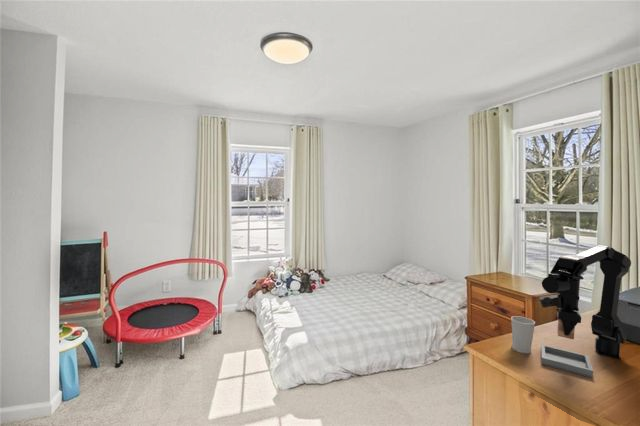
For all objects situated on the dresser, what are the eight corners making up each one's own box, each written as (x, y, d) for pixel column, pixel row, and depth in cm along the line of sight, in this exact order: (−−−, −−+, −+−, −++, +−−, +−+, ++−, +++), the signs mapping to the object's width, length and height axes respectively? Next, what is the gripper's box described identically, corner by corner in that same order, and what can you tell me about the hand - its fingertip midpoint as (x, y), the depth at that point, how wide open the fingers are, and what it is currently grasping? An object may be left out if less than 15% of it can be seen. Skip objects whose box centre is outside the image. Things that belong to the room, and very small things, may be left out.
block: (572, 335, 113) (573, 322, 112) (573, 339, 109) (574, 325, 109) (557, 331, 115) (558, 318, 115) (557, 335, 112) (558, 322, 111)
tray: (587, 361, 113) (587, 355, 113) (592, 378, 103) (593, 370, 103) (541, 350, 121) (541, 344, 121) (541, 364, 111) (542, 357, 111)
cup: (537, 355, 117) (539, 325, 117) (514, 352, 119) (516, 322, 118) (527, 345, 125) (529, 317, 125) (506, 343, 127) (507, 315, 126)
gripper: (541, 282, 124) (539, 319, 124) (541, 292, 109) (539, 335, 109) (577, 287, 117) (574, 327, 118) (582, 299, 102) (579, 344, 103)
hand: (565, 333), depth 112 cm, fingers closed on block, 4 cm apart
